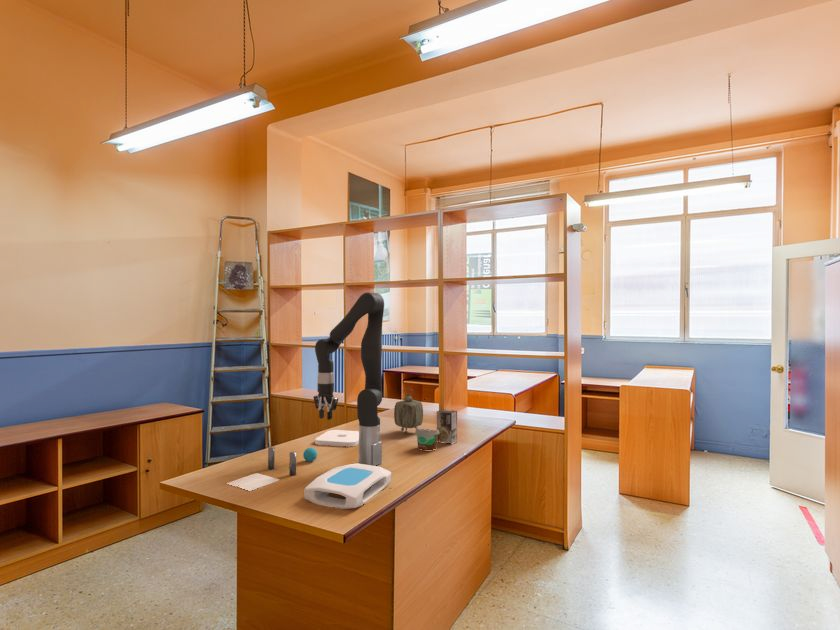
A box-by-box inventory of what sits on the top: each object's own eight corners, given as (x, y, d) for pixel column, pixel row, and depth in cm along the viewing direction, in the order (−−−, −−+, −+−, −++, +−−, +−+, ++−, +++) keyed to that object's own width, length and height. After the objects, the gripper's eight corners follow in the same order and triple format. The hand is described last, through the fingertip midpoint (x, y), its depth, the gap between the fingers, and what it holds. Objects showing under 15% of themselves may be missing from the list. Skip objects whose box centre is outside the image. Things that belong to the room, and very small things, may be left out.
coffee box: (457, 442, 233) (457, 410, 233) (451, 444, 228) (451, 413, 228) (442, 439, 238) (442, 408, 238) (436, 442, 233) (436, 410, 233)
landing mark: (279, 480, 177) (279, 479, 177) (249, 491, 166) (249, 491, 166) (256, 473, 185) (256, 472, 185) (226, 483, 173) (226, 483, 173)
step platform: (302, 502, 157) (303, 484, 157) (345, 476, 183) (345, 461, 183) (355, 512, 149) (355, 493, 149) (392, 484, 175) (392, 467, 175)
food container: (411, 450, 218) (411, 429, 218) (416, 446, 224) (416, 426, 224) (435, 453, 214) (435, 432, 214) (439, 449, 219) (439, 429, 220)
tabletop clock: (423, 433, 251) (423, 388, 251) (414, 436, 243) (414, 390, 243) (401, 429, 259) (401, 386, 259) (392, 432, 251) (392, 388, 251)
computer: (354, 448, 223) (354, 442, 223) (312, 445, 227) (312, 440, 227) (368, 436, 244) (368, 431, 244) (330, 434, 249) (330, 429, 249)
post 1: (275, 468, 191) (275, 447, 191) (270, 470, 189) (270, 448, 189) (271, 467, 192) (271, 446, 192) (266, 469, 190) (266, 447, 190)
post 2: (297, 474, 184) (297, 452, 184) (292, 476, 182) (292, 453, 182) (292, 473, 185) (293, 451, 185) (288, 475, 183) (288, 452, 183)
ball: (319, 460, 202) (320, 447, 202) (310, 464, 196) (310, 450, 197) (310, 458, 205) (310, 445, 205) (300, 461, 200) (300, 448, 200)
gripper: (342, 382, 208) (342, 419, 208) (320, 379, 216) (320, 415, 216) (331, 384, 202) (331, 422, 202) (308, 381, 209) (308, 418, 209)
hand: (325, 418), depth 209 cm, fingers open, 4 cm apart
